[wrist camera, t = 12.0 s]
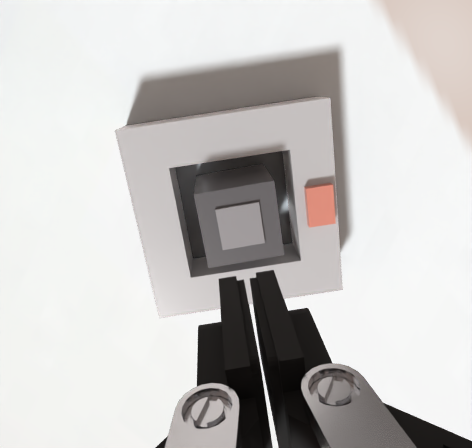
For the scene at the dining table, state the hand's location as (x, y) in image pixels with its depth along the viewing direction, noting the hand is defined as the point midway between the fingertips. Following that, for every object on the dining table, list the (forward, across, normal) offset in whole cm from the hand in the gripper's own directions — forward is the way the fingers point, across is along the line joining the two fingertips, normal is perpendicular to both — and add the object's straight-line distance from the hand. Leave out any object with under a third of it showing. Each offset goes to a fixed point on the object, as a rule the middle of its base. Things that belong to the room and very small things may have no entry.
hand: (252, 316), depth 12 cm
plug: (+16, 0, +1) cm, 16 cm away
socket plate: (+15, 0, +2) cm, 16 cm away
